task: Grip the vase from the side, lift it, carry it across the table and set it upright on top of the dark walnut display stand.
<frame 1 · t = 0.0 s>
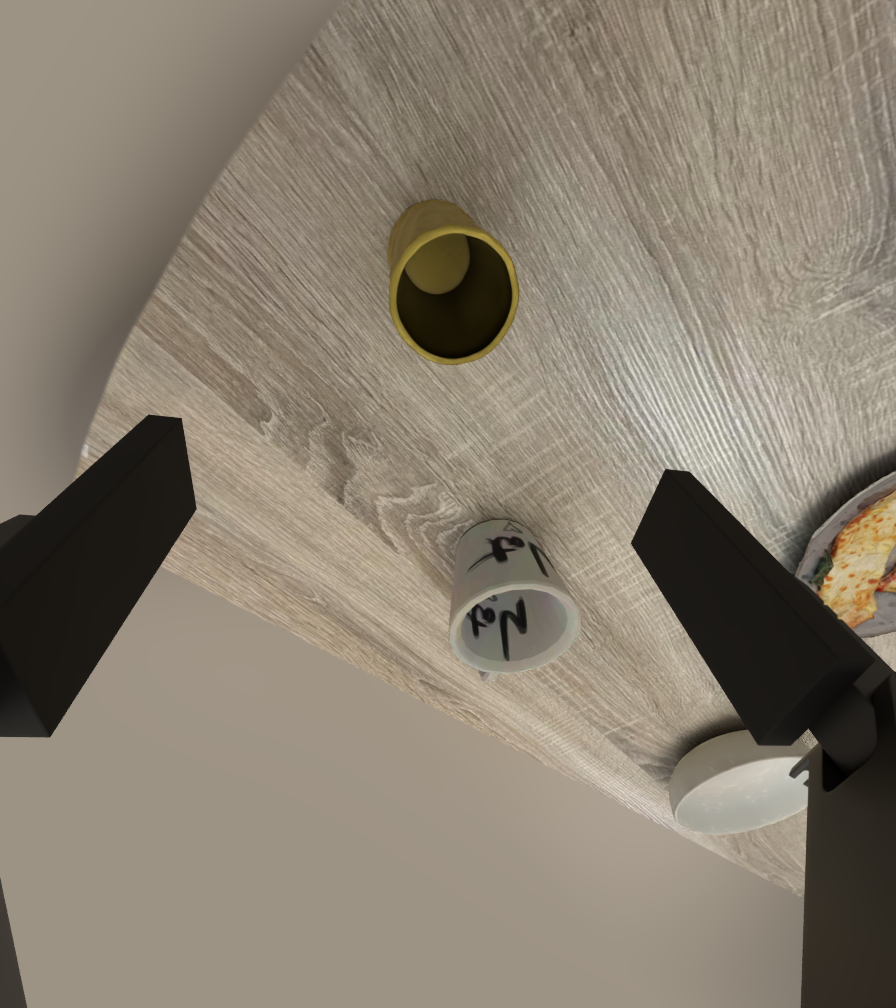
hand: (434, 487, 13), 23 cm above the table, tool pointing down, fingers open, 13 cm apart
mug: (489, 566, 46), on the table
food plate: (893, 541, 48), on the table
vase: (435, 255, 31), on the table
serving bowl: (723, 749, 70), on the table
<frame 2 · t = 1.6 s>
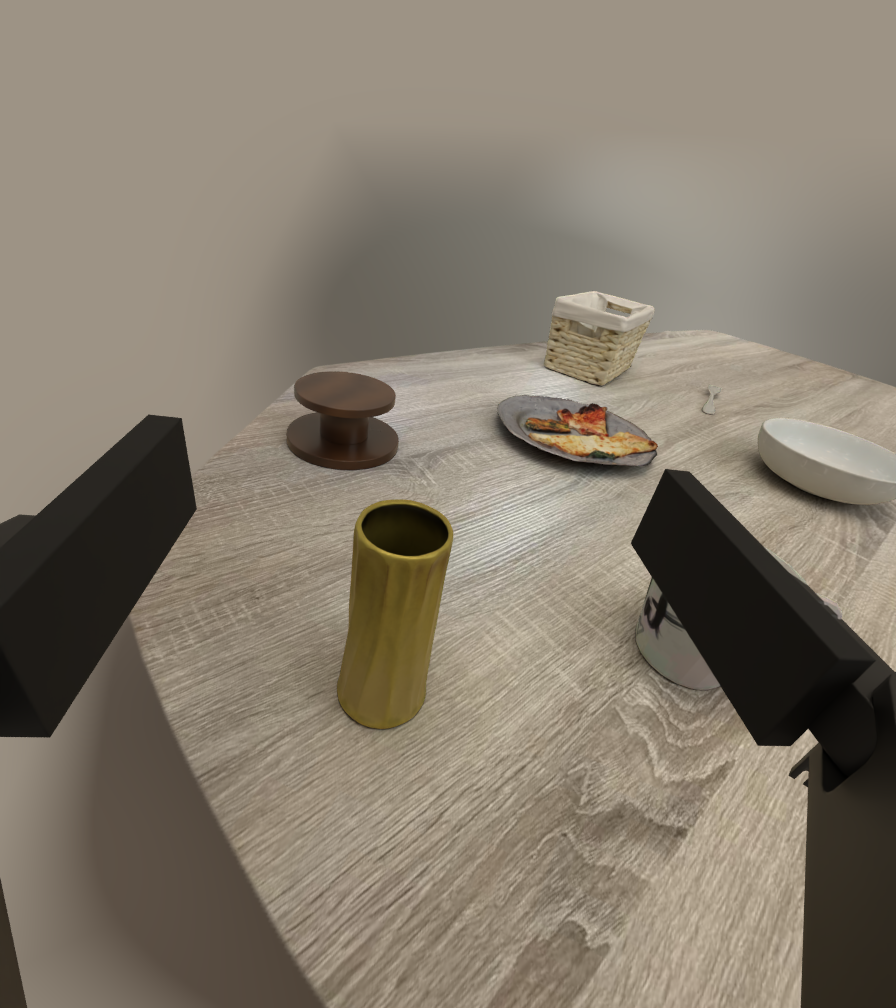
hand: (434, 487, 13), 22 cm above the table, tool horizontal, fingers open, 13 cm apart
stand: (343, 442, 61), on the table
mug: (703, 659, 41), on the table
basket: (586, 369, 110), on the table
food plate: (571, 439, 75), on the table
vase: (381, 690, 33), on the table
serving bowl: (810, 485, 75), on the table
fork: (709, 401, 105), on the table
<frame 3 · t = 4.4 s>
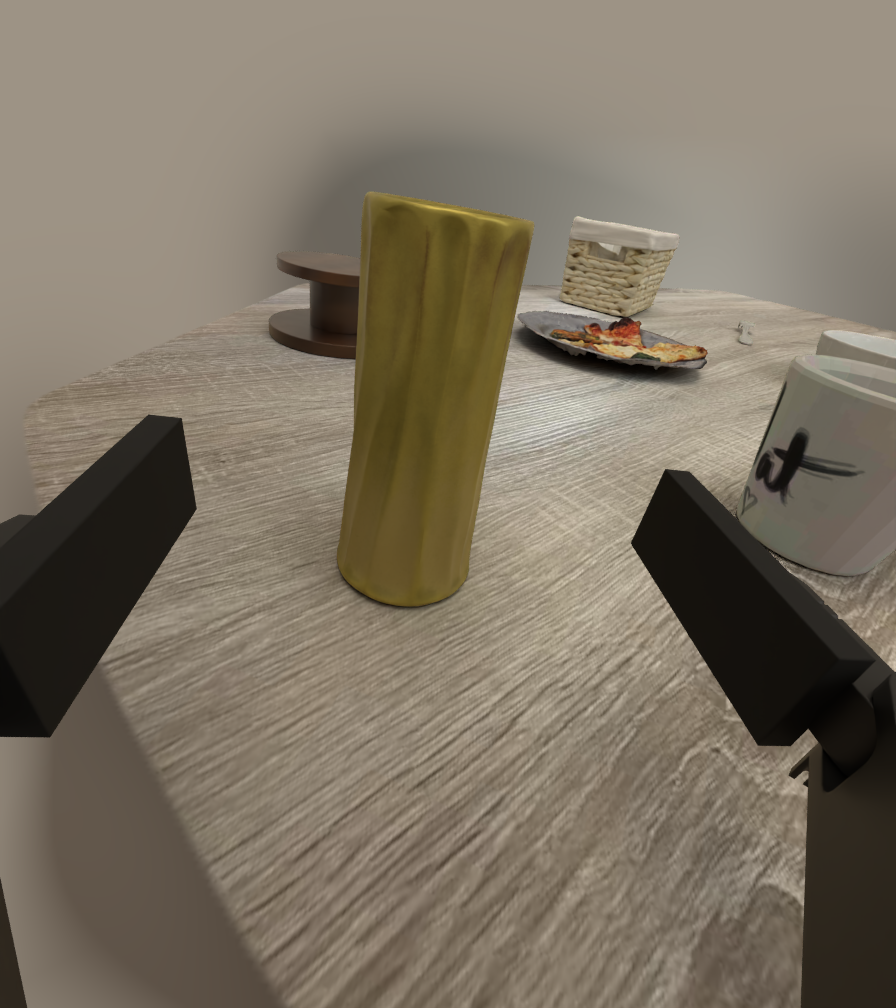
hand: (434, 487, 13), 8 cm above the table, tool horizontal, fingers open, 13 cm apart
stand: (339, 337, 51), on the table
mug: (831, 546, 30), on the table
basket: (605, 306, 100), on the table
food plate: (604, 353, 64), on the table
vase: (403, 564, 22), on the table
serving bowl: (880, 402, 65), on the table
fork: (742, 336, 95), on the table
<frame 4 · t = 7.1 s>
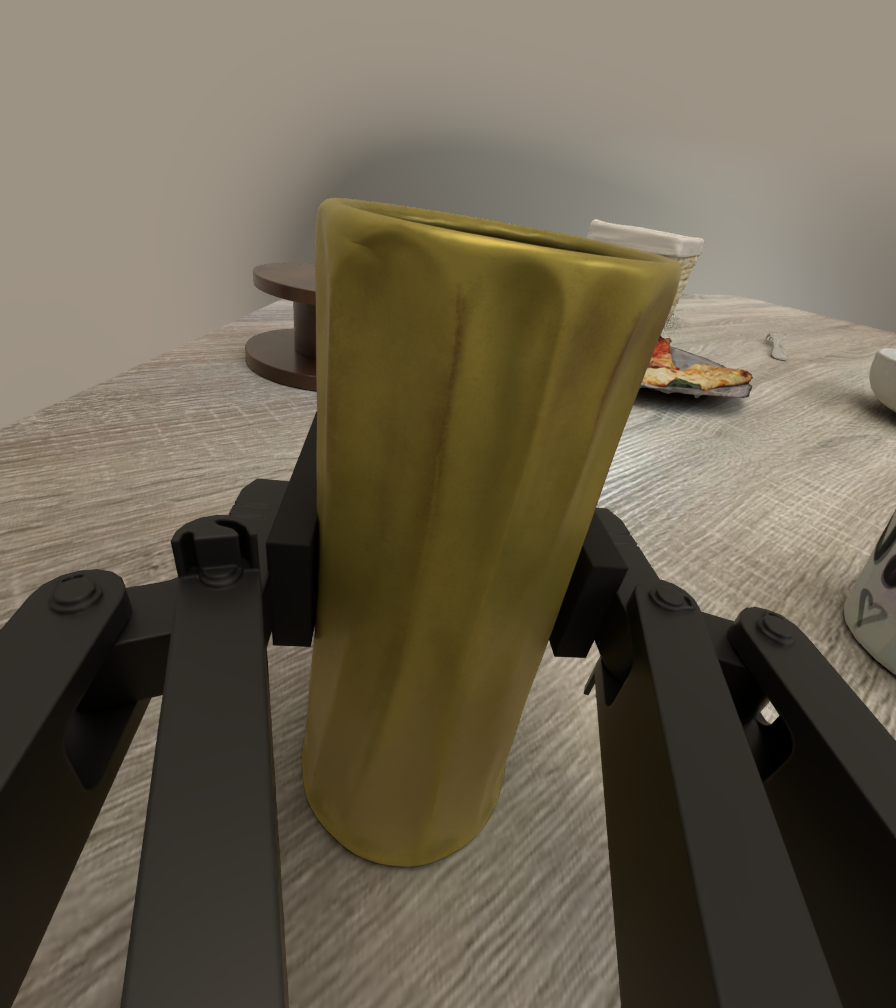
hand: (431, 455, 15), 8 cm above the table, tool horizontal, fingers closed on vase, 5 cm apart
stand: (329, 363, 43), on the table
basket: (622, 316, 92), on the table
food plate: (632, 375, 57), on the table
vase: (404, 756, 15), on the table, touching gripper
fork: (773, 350, 87), on the table
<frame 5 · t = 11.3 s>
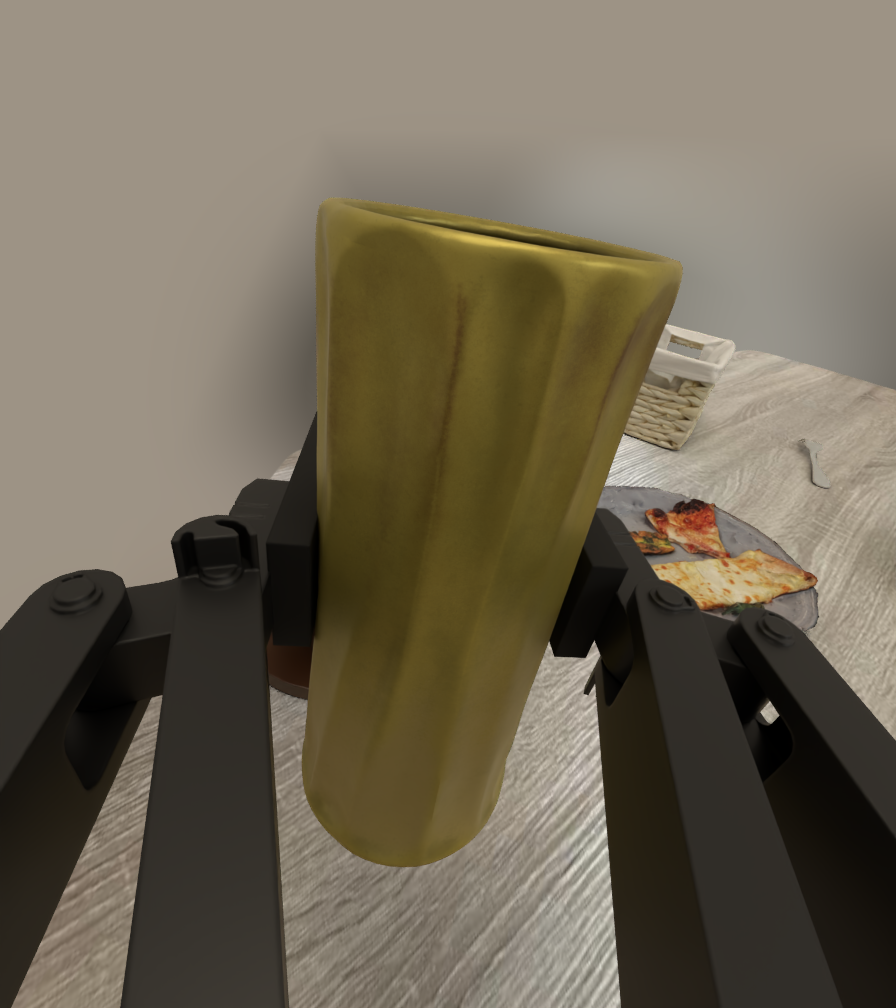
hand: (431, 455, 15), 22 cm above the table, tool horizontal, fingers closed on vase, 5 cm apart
stand: (338, 620, 37), on the table
basket: (646, 422, 86), on the table
food plate: (676, 562, 50), on the table
vase: (404, 756, 15), point 14 cm above the table, touching gripper
fork: (810, 463, 81), on the table
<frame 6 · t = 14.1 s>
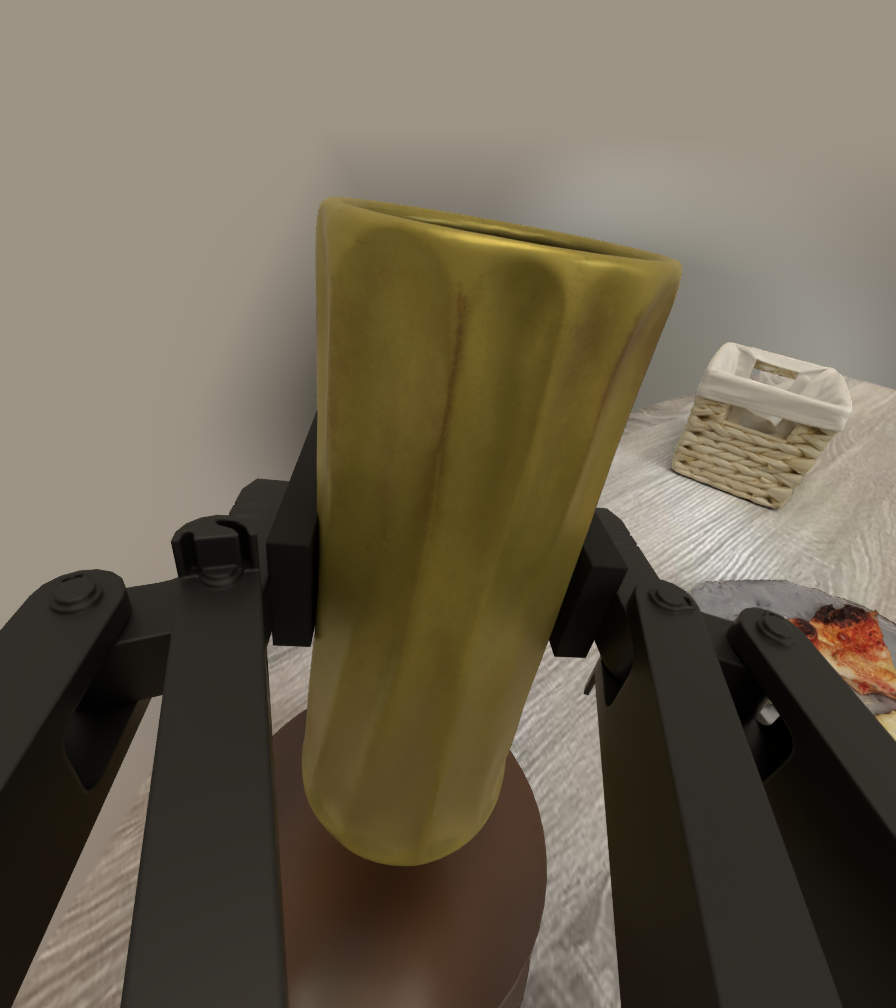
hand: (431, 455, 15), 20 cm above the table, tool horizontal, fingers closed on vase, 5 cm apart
stand: (374, 897, 22), on the table
basket: (726, 466, 71), on the table
food plate: (845, 710, 35), on the table
vase: (404, 755, 15), point 12 cm above the table, touching gripper
when the fingers open (15 cm above the table, at t = 15.9 s): vase stays where it is, resting on stand.
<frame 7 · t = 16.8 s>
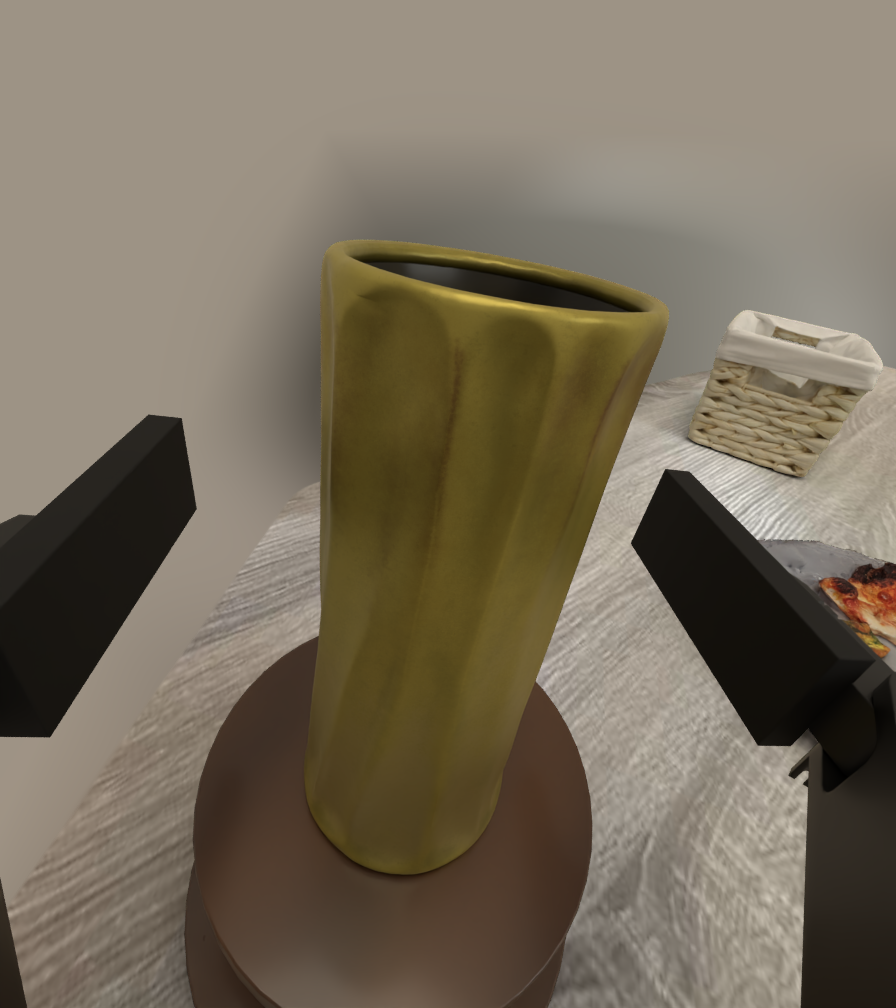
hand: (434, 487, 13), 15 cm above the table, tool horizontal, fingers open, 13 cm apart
stand: (386, 857, 19), on the table
basket: (744, 437, 68), on the table
food plate: (892, 671, 33), on the table
vase: (404, 765, 15), point 7 cm above the table, touching stand
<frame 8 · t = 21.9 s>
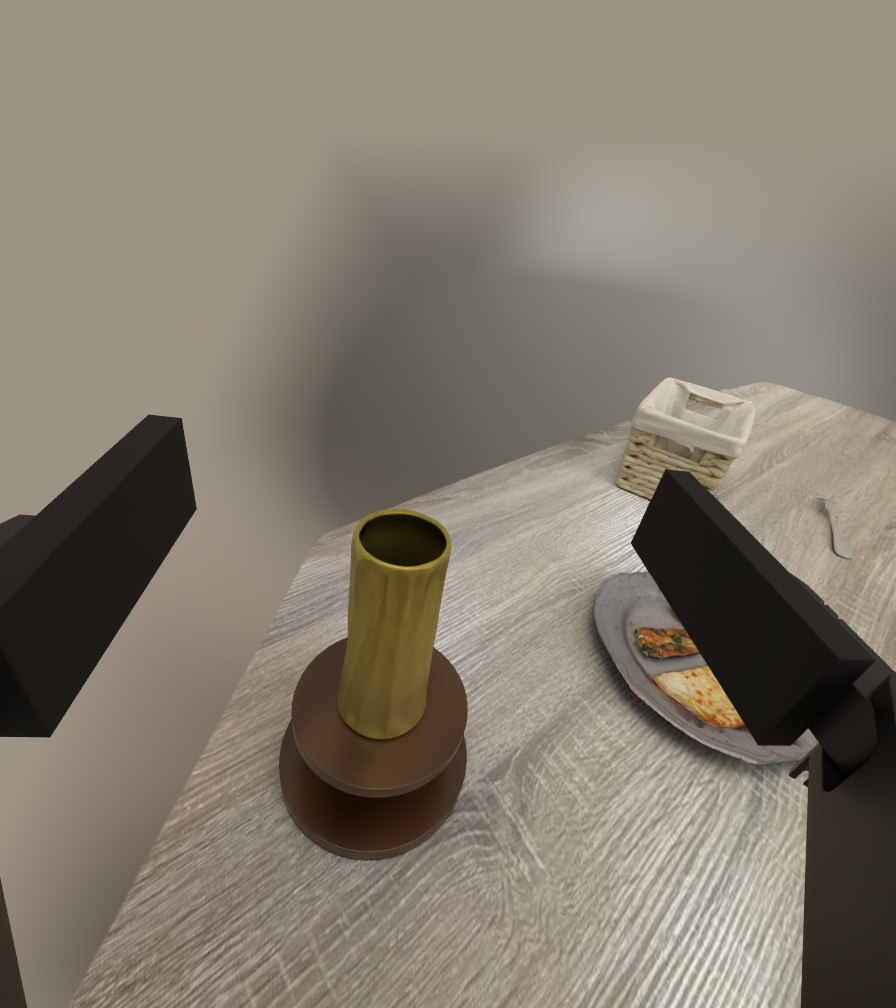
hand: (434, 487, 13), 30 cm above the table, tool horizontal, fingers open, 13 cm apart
stand: (375, 754, 37), on the table
basket: (665, 480, 86), on the table
food plate: (705, 662, 50), on the table
vase: (382, 700, 33), point 7 cm above the table, touching stand
fork: (830, 527, 81), on the table
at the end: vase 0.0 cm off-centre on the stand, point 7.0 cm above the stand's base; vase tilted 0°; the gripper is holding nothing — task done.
